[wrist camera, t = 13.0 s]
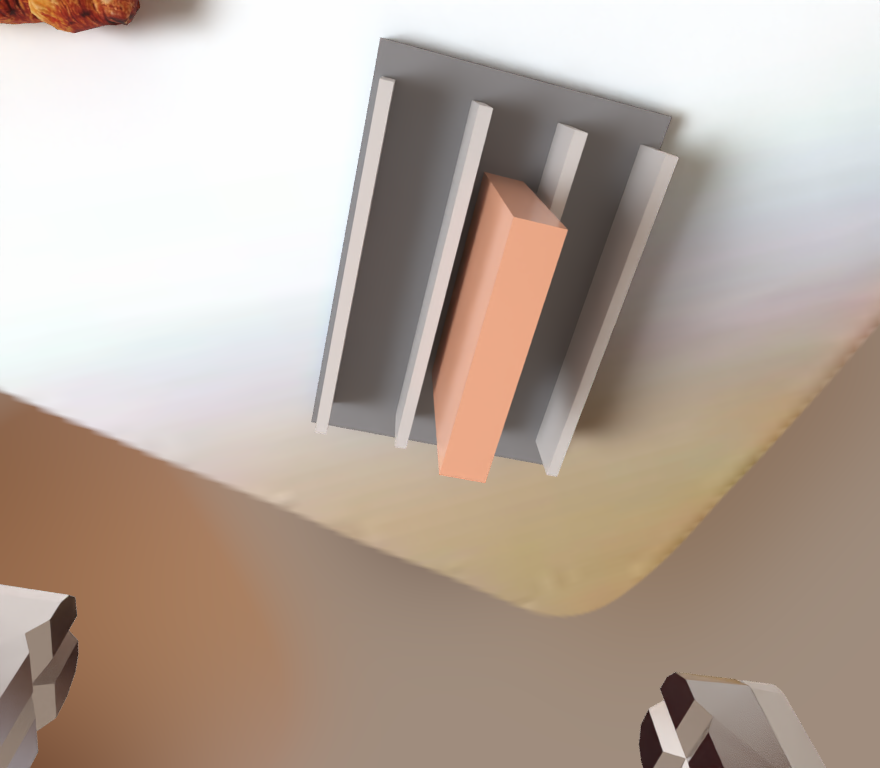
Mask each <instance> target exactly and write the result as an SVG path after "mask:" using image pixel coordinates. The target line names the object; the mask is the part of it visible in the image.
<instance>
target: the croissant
mask: <svg viewBox="0 0 880 768" xmlns="http://www.w3.org/2000/svg"><path fill="white" fill-rule="evenodd" d="M139 8H140V3H139V0H0V23H6V24H22V23H39V22H45V23H47V24H50V25H52V26H53V27H55V28H56V29H58V30H63V31H67V32H72V33H76V32H80V31H84V30H88V29H92V28H96V27H100V26H104V25H119V24H124V25H127V24H129V23H130V22H131V21H132V19H133V17H134V16H135V14H136V12H137V10H138V9H139Z"/></svg>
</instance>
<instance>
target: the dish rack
mask: <svg viewBox="0 0 880 768" xmlns="http://www.w3.org/2000/svg"><path fill="white" fill-rule="evenodd" d="M671 118H672V117H671V116H667V115H663V114H660V113H656V112H652V111H649V110H645V109H641V108H638V107H634V106H630V105H627V104H623V103H619V102H616V101H612V100H608V99H605V98H601V97H597V96H593V95H590V94H586V93H582V92H579V91H575V90H571V89H568V88H564V87H560V86H557V85H553V84H549V83H546V82H542V81H538V80H535V79H531V78H527V77H524V76H520V75H516V74H513V73H509V72H505V71H502V70H498V69H494V68H491V67H487V66H483V65H480V64H476V63H472V62H469V61H465V60H461V59H458V58H454V57H450V56H447V55H443V54H439V53H435V52H432V51H428V50H424V49H421V48H417V47H413V46H410V45H406V44H402V43H399V42H395V41H391V40H388V39H384V38H380V43H379V48H378V54H377V59H376V65H375V71H374V76H373V82H372V87H371V93H370V98H369V104H368V110H367V115H366V121H365V126H364V132H363V137H362V143H361V149H360V154H359V160H358V165H357V171H356V176H355V182H354V188H353V193H352V199H351V204H350V210H349V215H348V221H347V226H346V232H345V238H344V243H343V249H342V254H341V260H340V265H339V271H338V277H337V282H336V288H335V293H334V299H333V304H332V310H331V316H330V321H329V327H328V332H327V338H326V343H325V349H324V355H323V360H322V366H321V371H320V377H319V382H318V388H317V394H316V399H315V405H314V410H313V416H312V421H311V422H314V423H316V428H315V433H321V434H326V433H327V429H328V425H331V426H336V427H341V428H347V429H352V430H358V431H363V432H369V433H374V434H379V435H385V436H390V437H395V447H397V448H403V449H406V446H407V443H408V440H412V441H417V442H423V443H428V444H434V445H437V437H436V423H435V410H434V396H433V383H432V369H433V365H434V362H435V358H436V354H437V350H438V346H439V342H440V339H441V335H442V331H443V327H444V323H445V320H446V316H447V312H448V308H449V304H450V300H451V297H452V293H453V289H454V285H455V281H456V277H457V274H458V270H459V266H460V262H461V258H462V254H463V251H464V247H465V243H466V239H467V235H468V232H469V228H470V224H471V220H472V216H473V212H474V209H475V205H476V201H477V197H478V193H479V189H480V186H481V182H482V178H483V174H484V172H487V173H491V174H495V175H499V176H503V177H507V178H511V179H515V180H519V181H523V182H524V183H525V184H526V185H527V186H528V187H529V188H530V189H531V190H532V191H533V192H534V194H535V195H536V196H537V197H538V198H539V199H540V200H541V201H542V202H543V203H544V204H545V205H546V207H547V208H548V209H549V210H550V211H551V212H552V213H553V214H554V215H555V216H556V217H557V218H558V219H559V221H560V222H561V223H562V224H563V225H564V226H565V227H566V228H567V229H568V231H567V234H566V237H565V240H564V244H563V247H562V250H561V253H560V256H559V259H558V262H557V265H556V268H555V271H554V274H553V277H552V280H551V283H550V286H549V289H548V292H547V296H546V299H545V302H544V305H543V308H542V311H541V314H540V317H539V320H538V323H537V326H536V329H535V332H534V335H533V338H532V341H531V344H530V347H529V351H528V354H527V357H526V360H525V363H524V366H523V369H522V372H521V375H520V378H519V381H518V384H517V387H516V390H515V393H514V396H513V399H512V403H511V406H510V409H509V412H508V415H507V418H506V421H505V424H504V427H503V430H502V433H501V436H500V439H499V442H498V445H497V448H496V451H495V455H494V456H499V457H504V458H509V459H515V460H520V461H526V462H531V463H537V464H542V465H544V468H545V471H546V474H547V475H551V476H556V477H557V475H558V473H559V470H560V468H561V465H562V462H563V460H564V457H565V454H566V452H567V449H568V447H569V444H570V441H571V439H572V436H573V434H574V431H575V428H576V426H577V423H578V420H579V418H580V415H581V413H582V410H583V407H584V405H585V402H586V399H587V397H588V394H589V392H590V389H591V386H592V384H593V381H594V379H595V376H596V373H597V371H598V368H599V365H600V363H601V360H602V358H603V355H604V352H605V350H606V347H607V345H608V342H609V339H610V337H611V334H612V331H613V329H614V326H615V324H616V321H617V318H618V316H619V313H620V310H621V308H622V305H623V303H624V300H625V297H626V295H627V292H628V290H629V287H630V284H631V282H632V279H633V276H634V274H635V271H636V269H637V266H638V263H639V261H640V258H641V255H642V253H643V250H644V248H645V245H646V242H647V240H648V237H649V235H650V232H651V229H652V227H653V224H654V221H655V219H656V216H657V214H658V211H659V208H660V206H661V203H662V201H663V198H664V195H665V193H666V190H667V187H668V185H669V182H670V180H671V177H672V174H673V172H674V169H675V166H676V164H677V161H678V159H679V157H677V156H674V155H671V154H669V153H666V152H663V151H661V150H660V148H661V145H662V142H663V140H664V137H665V134H666V131H667V129H668V126H669V123H670V121H671Z"/></svg>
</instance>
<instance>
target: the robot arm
mask: <svg viewBox="0 0 880 768" xmlns="http://www.w3.org/2000/svg"><path fill="white" fill-rule="evenodd" d="M76 617H77V610H76V599H75V597H73V596H70V595H64V594H58V593H52V592H45V591H38V590H32V589H25V588H19V587H13V586H6V585H0V768H30V766H31V764H32V763H33V761H34V759H35V757H36V755H37V753H38V744H37V731H38V730H39V729H40V728H42V727H43V726H44V725H46V724H48V723H49V722H51V721H52V720H53V719H55V718H56V717H57V715H58V713H59V711H60V709H61V707H62V705H63V703H64V701H65V699H66V697H67V695H68V692H69V689H70V686H71V683H72V681H73V678H74V675H75V672H76V666H77V659H78V640H77V639H76V638H75V637H74V636H73V635H72V633H71V632H70V631H69V629H70V627H71V626H72V624H73V622H74V620H75V618H76ZM660 690H661V693H662V695H663V698H664V700H663V701H662V702H660V703H658V704H656V705H655V706H653V707H651V708H650V709H649V710H648V712H647V713H646V716H645V718H644V719H643V721H642V724H641V729H640V739H639V749H640V756H641V763H642V766H643V768H826V767H825V765H824V763H823V761H822V760H821V758H820V756H819V754H818V753H817V751H816V749H815V747H814V746H813V744H812V742H811V740H810V739H809V737H808V735H807V733H806V732H805V730H804V728H803V726H802V724H801V723H800V721H799V719H798V717H797V716H796V714H795V712H794V711H793V709H792V707H791V706H790V703H789V702H788V700H787V698H786V696H785V695H784V694H783V692H782V691H781V690H780V689H779V688H778V687H776V686H775V685H774V684H767V683H759V682H751V681H743V680H739V681H738V680H736V679H731V678H722V677H712V676H703V675H696V674H687V673H678V672H675V673H673V674H671V675H669V676H668V677H667V678H666V679H665V681H664V683H663V685H662V686H661V688H660Z"/></svg>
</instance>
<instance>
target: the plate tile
mask: <svg viewBox="0 0 880 768" xmlns="http://www.w3.org/2000/svg"><path fill="white" fill-rule="evenodd" d="M567 231H568V229H567V228H566V227H565V226H564V225H563V224H562V223H561V222H560V221H559V219H558V218H557V217H556V216H555V215H554V214H553V213H552V212H551V211H550V210H549V209H548V208H547V207H546V205H545V204H544V203H543V202H542V201H541V200H540V199H539V198H538V197H537V196H536V195H535V194H534V192H533V191H532V190H531V189H530V188H529V187H528V186H527V185H526V184H525V183H524V182H523V181H519V180H515V179H511V178H507V177H503V176H499V175H495V174H491V173H487V172H484V174H483V178H482V182H481V186H480V189H479V193H478V197H477V201H476V205H475V209H474V212H473V216H472V220H471V224H470V228H469V232H468V235H467V239H466V243H465V247H464V251H463V254H462V258H461V262H460V266H459V270H458V274H457V277H456V281H455V285H454V289H453V293H452V297H451V300H450V304H449V308H448V312H447V316H446V320H445V323H444V327H443V331H442V335H441V339H440V342H439V346H438V350H437V354H436V358H435V362H434V365H433V369H432V383H433V396H434V410H435V423H436V437H437V450H438V464H439V475H443V476H449V477H455V478H460V479H466V480H471V481H477V482H483V483H485V482H486V479H487V476H488V473H489V470H490V467H491V464H492V461H493V458H494V455H495V451H496V448H497V445H498V442H499V439H500V436H501V433H502V430H503V427H504V424H505V421H506V418H507V415H508V412H509V409H510V406H511V403H512V399H513V396H514V393H515V390H516V387H517V384H518V381H519V378H520V375H521V372H522V369H523V366H524V363H525V360H526V357H527V354H528V351H529V347H530V344H531V341H532V338H533V335H534V332H535V329H536V326H537V323H538V320H539V317H540V314H541V311H542V308H543V305H544V302H545V299H546V296H547V292H548V289H549V286H550V283H551V280H552V277H553V274H554V271H555V268H556V265H557V262H558V259H559V256H560V253H561V250H562V247H563V244H564V240H565V237H566V234H567Z"/></svg>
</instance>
